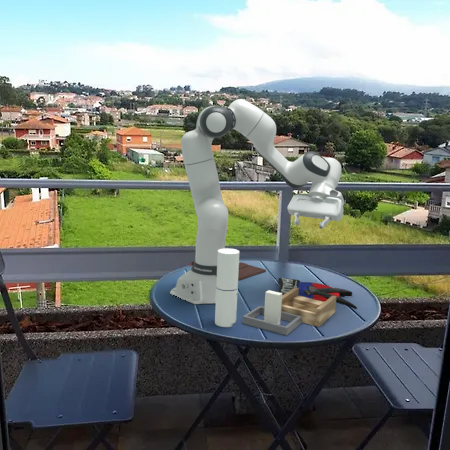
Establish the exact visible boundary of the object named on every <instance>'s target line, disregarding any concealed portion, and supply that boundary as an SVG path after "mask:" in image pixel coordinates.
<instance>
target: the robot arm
mask: <svg viewBox="0 0 450 450" xmlns="http://www.w3.org/2000/svg"><path fill="white" fill-rule="evenodd" d="M231 130H235V131H237V132H238V133H239V134H241V135H242V136H243V137H245V138H246V139H247V140H248V141H249V142H250V143H251V144H252V145H253V146H254V150H255V151H256V153H257V154H258V155H259V156H260V157H261V158H262V159H263V160H264V161H265V162H266V163H267V164H268V165H269V166H270V167H272V169H273V170H274V171H275V172H277V174H278V175H279V176H280V177H281V179H282V180H283V181H284V182H285V184H287V186H288V187H290V188H292V189H295V190H296V189H301V188H303V187H304V186H305V185H306V184H308V183H309V182H311V186H310V188H309V189H310V190H309V191H308V193H301V192H299V193H295V194H293V195H292V198H291V200H289V201H290V202H289V203H288V205H287V207H286V209H287V212H288V214H289V215H291V216H294V222H293V223H294V225H295V226H300V223H301V220H300V217H303V218H304V217H305V218H312V219H317V220H318V219H319V220H323V221H320V222H319V223H318V224H319V225H318V227H319V229H322V230H324V229H325V227H326V226H327V225H328V224H329V223H330V222H331V221H333V222H339V221H341V220H342V219H343V214H344V212H345V211H344V205H345V200H344V196H343V194H342V192H340V191H338V190H336V188H337V187H338V185H339V182H340V180H341V176H342V165H341V163H340V162H339V161H338V160H337V159H336V158H334V157H324V156H322V155H321V154H319V153H318V152H316V151H312V150H311V151H307V152H305V153H303V154H302V155H300V156H299V157H298V158H297V159H295V160H294V161H290V160H288V159H287V158H286V157H285V156H284V155H283V154H281V152H280V151H279V150H278V149H277V148H276V147H275V143H274V141H275V139H276V135H277V125H276V122H275V121H274V119H273V118H272V117H271V116H270V115H269V114H267V113H266V112H264V111H263V110H262V109H261V108H260V107H257V106H256V105H255V104H252V103H251V102H249V101H247V100H246V99H244V98H237V99H235V100H234V101H232V102H231V103H230V104H229V106H228V107H225V106H224V107H223V106H216V105H210V106H206V107H205V108H203V109H202V110H201V111H200V112H199V114H198V115H197V119H196V122H195V125H194V129H193V130H190V131H187V132H186V133H184V134H183V136H182V137H181V140H180V146H181V154H182V160H183V165H184V169H185V172H186V177H187V181H188V185H189V189H190V192H191V198H192V201H193V206H194V210H195V213H196V214H195V215H196V216H197V226H196V227H197V228H196V237H195V259H194V260H193V261H192V262H189V266H188V267H191V269H190V270H188V271H186V272H185V273H184V274H182V275H180V277H179V278H178V279H177V282H176V284H175V287H174V288H172V289H171V290H170V293H169V295H170V294H172V295H171V296H173V295H175V296H177V297H176V298H178V297H179V298H178V299H180V298H181V300H183V301H185V300H186V302H189V303H191V304H193V305H201V304H216V281H217V256H218V250H219V249H225V248H226V238H227V234H228V233H227V232H228V224H229V210H228V209H229V208H228V207H227V206H226V204H225V203H224V200H223V195H222V190H221V186H220V177H219V173H218V169H217V165H216V161H215V156H214V154H213V149H212V148H213V146H212V143H213V142H214V141H213V140H214V139H217V138H219V139H220V138H221V137H223V136H225V135H226V134H228V132H230V131H231ZM175 296H174V297H175Z"/></svg>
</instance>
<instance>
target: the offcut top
mask: <svg viewBox="0 0 450 450" xmlns="http://www.w3.org/2000/svg"><path fill="white" fill-rule="evenodd" d="M324 302H325V301H323V302H322V301H318V300H314V299H310V298H306V297H303V296H297V297H295V298H294V303H298V304H301V305H305V306H309V307H313V308H316V309H317V308H318V307H319V306H320V305H322V304H323V303H324Z"/></svg>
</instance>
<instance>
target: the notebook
mask: <svg viewBox="0 0 450 450" xmlns="http://www.w3.org/2000/svg"><path fill="white" fill-rule="evenodd" d="M266 272H267V270H266V269H265V268H262V267H258V266H255V265H252V264H248V263H245V262H239V272H238V282H240V281H243V280H246V279H249V278H252V277H255V276H257V275H261V274H264V273H266Z"/></svg>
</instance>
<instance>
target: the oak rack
mask: <svg viewBox="0 0 450 450" xmlns="http://www.w3.org/2000/svg"><path fill="white" fill-rule="evenodd" d="M298 293H299V288H296V287H295V288H293V289H292V290H290V291H289V292H287V293H286V294H284V295H283V296H282V306H281V311H282V312H286V313H290V314H294V315H298V316H302V321H301V324H302V323H303V324H307V325H310V326H314V327H318V328H320V327H322V325H323V324H324V323H326V321H328V319H330V318H331V317H332V316H333V315H334V314H335V313H336V307H337V306H336V305H337V302H336V297H337V296H331V297H330V298H329V299H328V300H326V301H323V302H324V303H323V304H322V305H320V306H319V307H318V308H317V309H316V313H315V312H311V311H307V310H303V309H299V308H295V307H293V303H294V298H295V297H297V296H298Z"/></svg>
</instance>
